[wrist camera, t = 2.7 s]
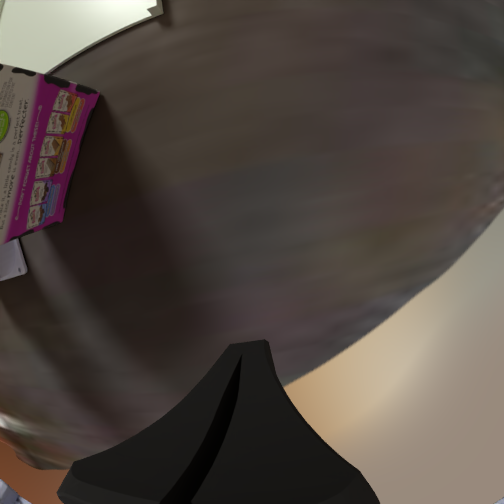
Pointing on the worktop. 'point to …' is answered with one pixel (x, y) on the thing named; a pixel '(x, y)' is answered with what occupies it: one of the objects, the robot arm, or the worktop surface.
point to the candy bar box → (38, 147)
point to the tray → (63, 28)
